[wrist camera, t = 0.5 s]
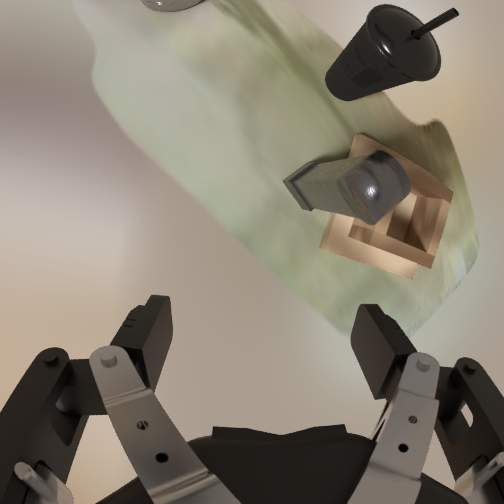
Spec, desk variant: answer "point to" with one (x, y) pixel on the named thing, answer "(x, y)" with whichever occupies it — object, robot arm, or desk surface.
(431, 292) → the desk surface
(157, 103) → the desk surface
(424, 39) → the drinking cup
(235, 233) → the desk surface
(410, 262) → the wooden square box
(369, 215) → the ball topped joystick
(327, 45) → the desk surface
